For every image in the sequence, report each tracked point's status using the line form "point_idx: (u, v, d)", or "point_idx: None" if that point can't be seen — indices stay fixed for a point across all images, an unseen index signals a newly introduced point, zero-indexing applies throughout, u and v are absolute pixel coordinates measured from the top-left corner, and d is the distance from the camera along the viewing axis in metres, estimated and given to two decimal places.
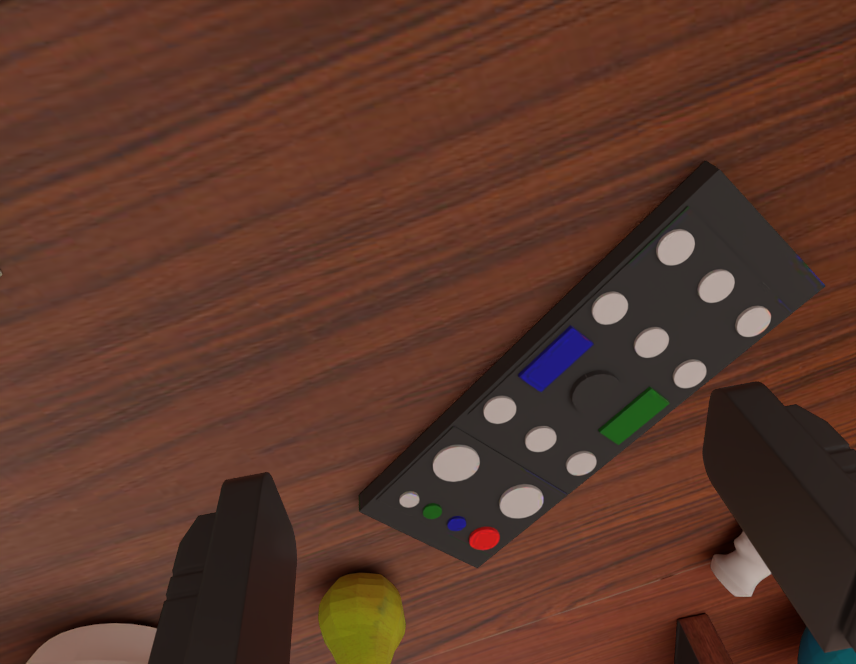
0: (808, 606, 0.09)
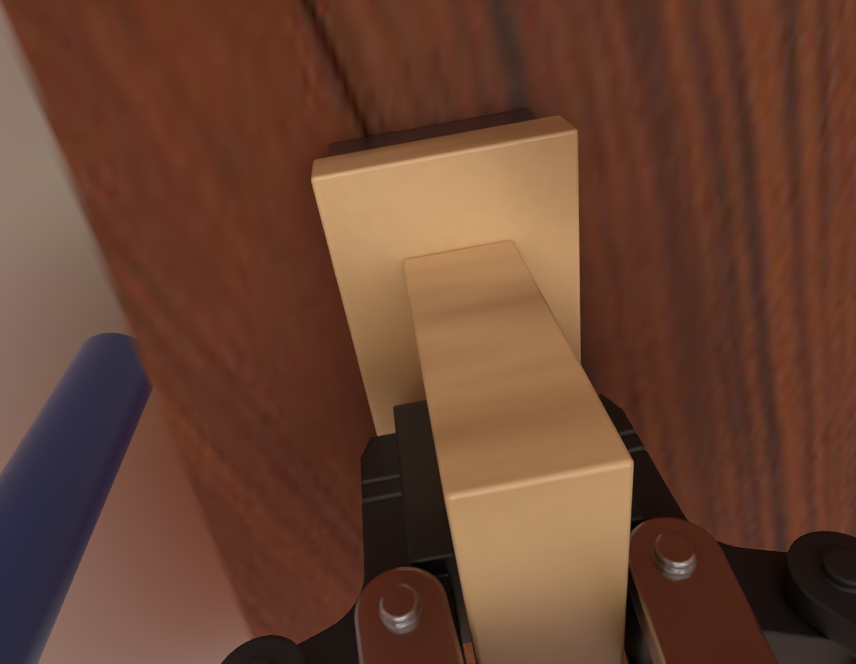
0: None
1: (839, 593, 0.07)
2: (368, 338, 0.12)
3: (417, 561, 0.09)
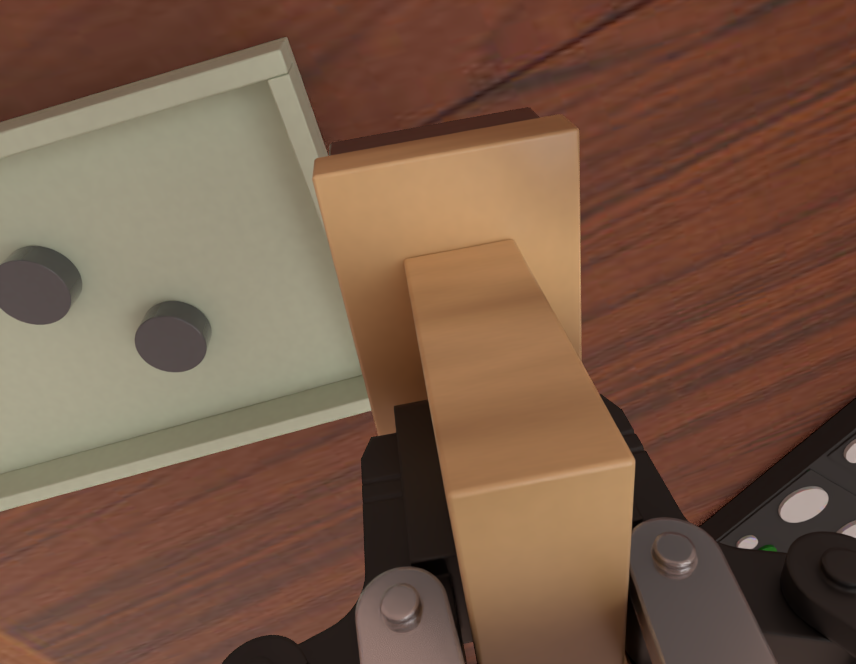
0: None
1: (838, 593, 0.07)
2: (369, 337, 0.12)
3: (418, 561, 0.09)
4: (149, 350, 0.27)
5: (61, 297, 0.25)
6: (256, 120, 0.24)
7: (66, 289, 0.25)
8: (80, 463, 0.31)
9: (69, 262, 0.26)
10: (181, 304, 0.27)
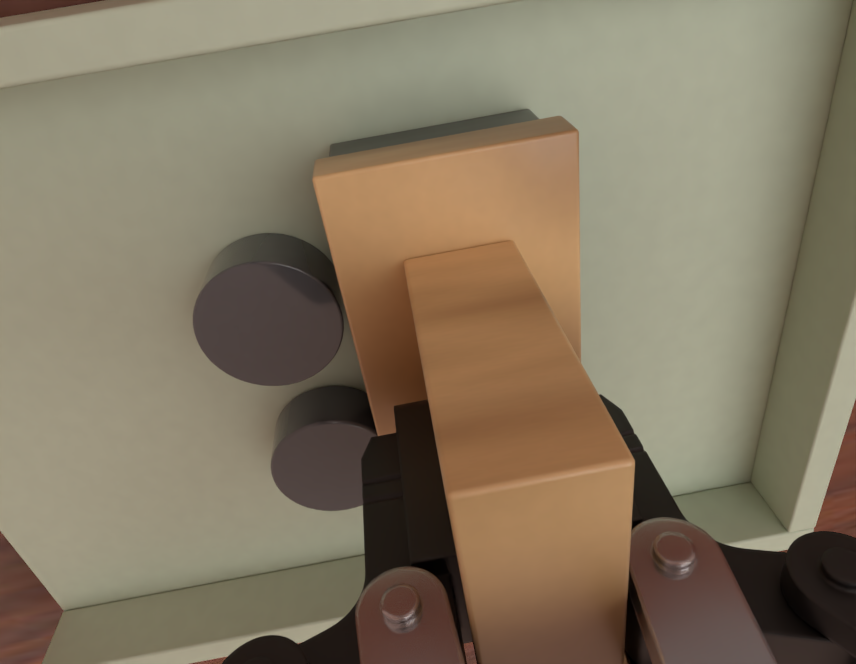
0: None
1: (838, 593, 0.07)
2: (369, 338, 0.12)
3: (418, 561, 0.09)
4: (295, 475, 0.15)
5: (325, 339, 0.13)
6: (783, 32, 0.12)
7: (340, 326, 0.13)
8: (243, 604, 0.18)
9: None
10: (357, 394, 0.15)
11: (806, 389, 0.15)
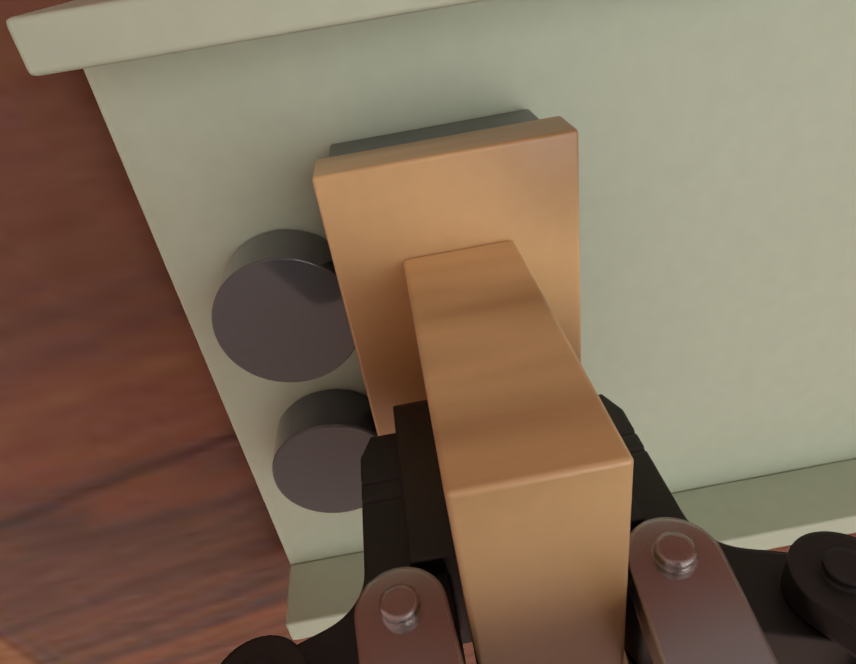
0: None
1: (839, 593, 0.07)
2: (369, 338, 0.12)
3: (417, 561, 0.09)
4: (296, 477, 0.15)
5: (343, 336, 0.13)
6: None
7: None
8: None
9: None
10: (359, 398, 0.15)
11: None
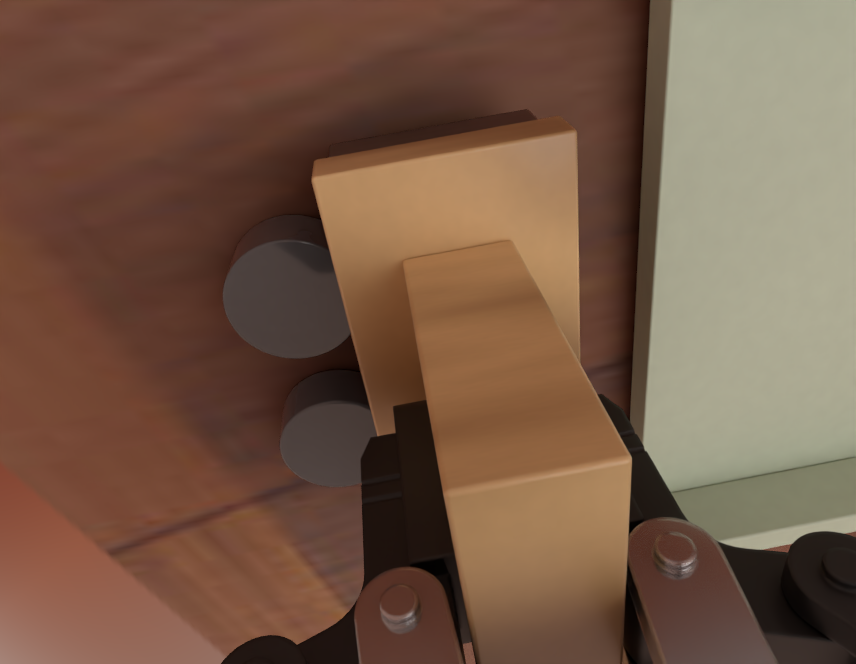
0: None
1: (839, 593, 0.07)
2: (368, 338, 0.12)
3: (417, 561, 0.09)
4: (302, 452, 0.16)
5: (345, 314, 0.14)
6: None
7: None
8: (838, 486, 0.18)
9: None
10: (361, 378, 0.16)
11: None
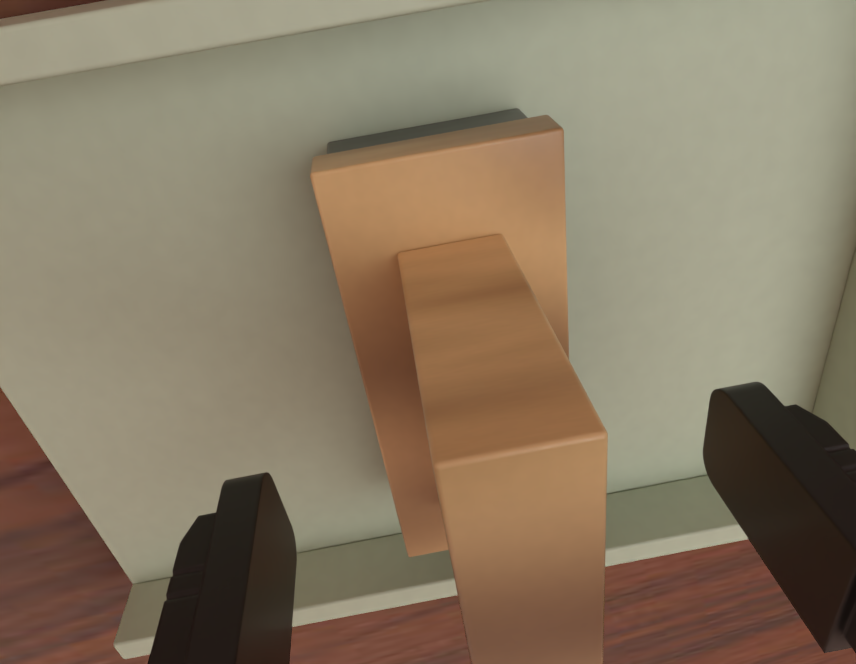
0: (808, 606, 0.09)
1: None
2: (365, 328, 0.12)
3: None
4: None
5: None
6: None
7: None
8: (309, 576, 0.18)
9: None
10: None
11: None
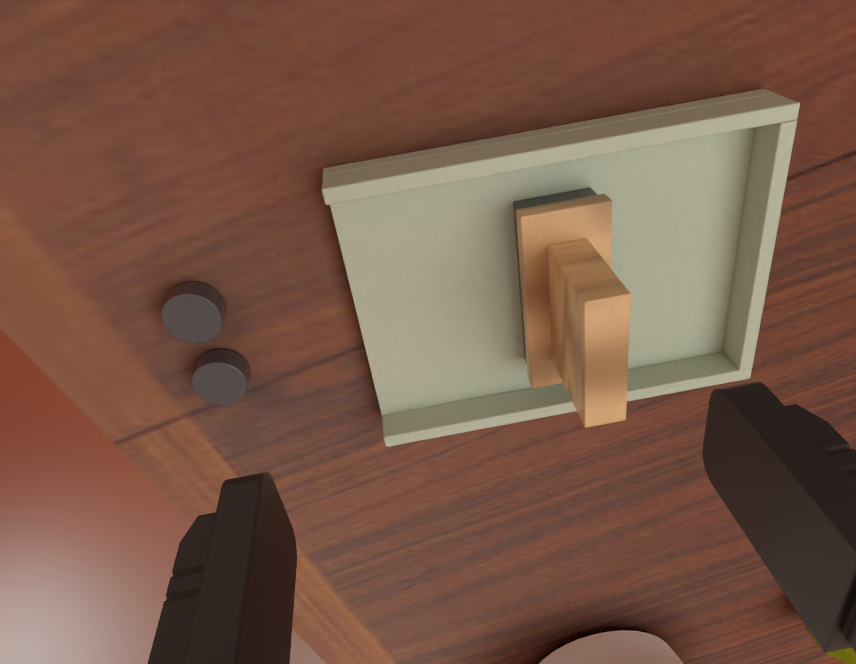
0: (808, 606, 0.09)
1: None
2: (530, 275, 0.31)
3: None
4: (202, 386, 0.35)
5: (214, 323, 0.33)
6: (727, 148, 0.31)
7: (219, 318, 0.32)
8: (475, 408, 0.37)
9: (220, 296, 0.33)
10: (230, 352, 0.35)
11: (744, 296, 0.34)
